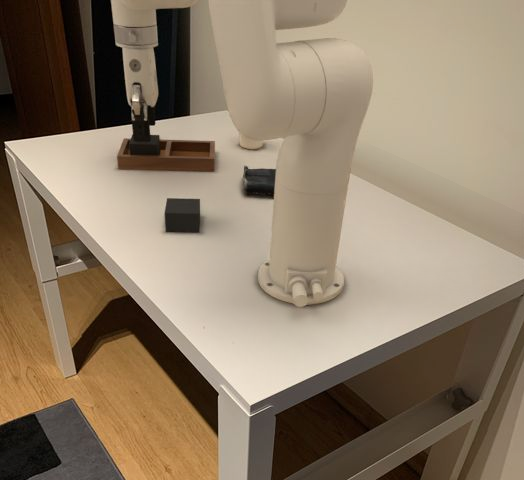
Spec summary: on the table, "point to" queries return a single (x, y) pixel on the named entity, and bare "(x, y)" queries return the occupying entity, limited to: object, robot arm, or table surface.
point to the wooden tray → (171, 156)
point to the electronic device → (259, 181)
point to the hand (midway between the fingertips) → (145, 132)
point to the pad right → (182, 215)
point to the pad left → (145, 146)
